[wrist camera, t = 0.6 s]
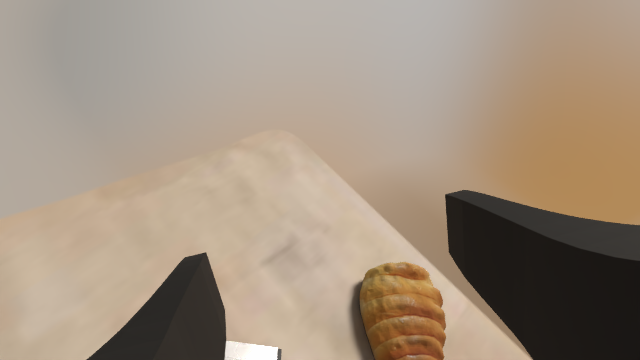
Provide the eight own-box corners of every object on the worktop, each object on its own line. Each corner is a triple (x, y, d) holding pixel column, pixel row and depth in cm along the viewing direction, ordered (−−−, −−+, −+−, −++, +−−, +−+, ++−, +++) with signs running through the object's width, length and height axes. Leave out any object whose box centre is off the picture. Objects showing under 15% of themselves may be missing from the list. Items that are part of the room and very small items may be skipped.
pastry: (447, 401, 30) (477, 381, 28) (362, 391, 29) (385, 370, 26) (422, 287, 37) (444, 263, 35) (352, 275, 36) (370, 249, 33)
